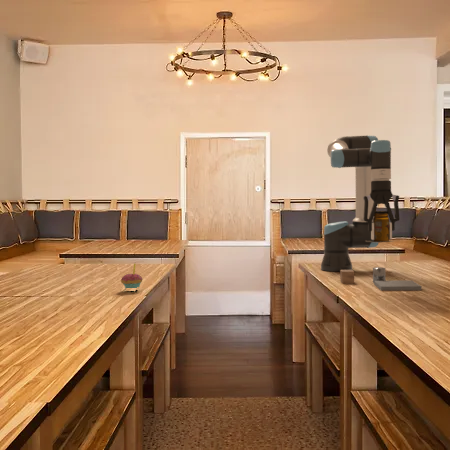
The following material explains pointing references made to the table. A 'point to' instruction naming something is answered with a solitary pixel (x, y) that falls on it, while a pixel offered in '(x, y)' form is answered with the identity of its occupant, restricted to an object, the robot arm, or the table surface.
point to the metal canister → (378, 274)
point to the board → (397, 285)
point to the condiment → (381, 227)
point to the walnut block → (347, 276)
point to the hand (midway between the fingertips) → (381, 239)
